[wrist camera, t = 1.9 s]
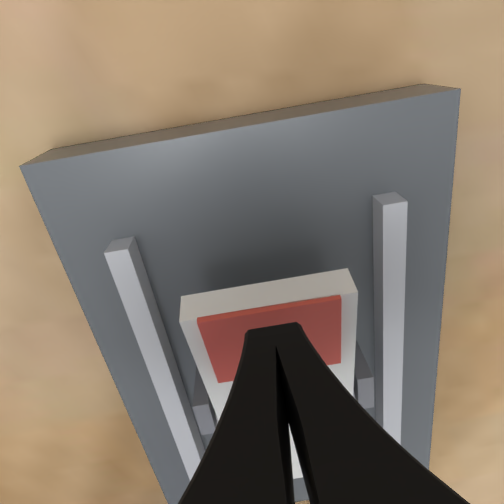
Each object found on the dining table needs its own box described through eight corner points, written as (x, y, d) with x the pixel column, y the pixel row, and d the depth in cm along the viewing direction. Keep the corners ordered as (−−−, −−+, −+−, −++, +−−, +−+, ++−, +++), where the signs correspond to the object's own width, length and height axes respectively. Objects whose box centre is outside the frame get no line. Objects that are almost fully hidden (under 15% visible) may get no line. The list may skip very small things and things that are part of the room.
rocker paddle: (345, 448, 19) (352, 472, 18) (241, 464, 19) (243, 490, 18) (351, 267, 11) (363, 295, 10) (177, 296, 11) (175, 326, 11)
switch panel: (408, 440, 23) (448, 524, 19) (180, 476, 23) (170, 567, 19) (423, 83, 14) (507, 94, 10) (51, 149, 14) (-22, 186, 10)
